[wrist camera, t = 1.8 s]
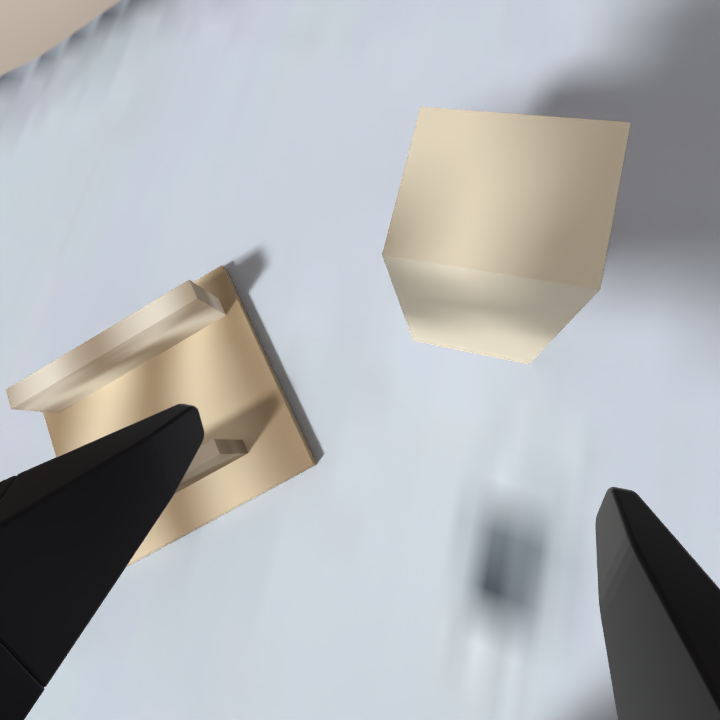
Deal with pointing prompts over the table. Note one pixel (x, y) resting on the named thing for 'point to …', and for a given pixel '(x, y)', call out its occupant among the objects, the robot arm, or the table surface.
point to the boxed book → (502, 227)
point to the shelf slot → (179, 399)
